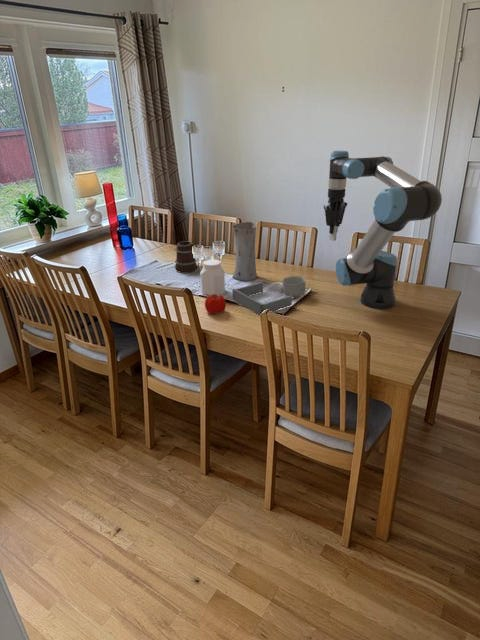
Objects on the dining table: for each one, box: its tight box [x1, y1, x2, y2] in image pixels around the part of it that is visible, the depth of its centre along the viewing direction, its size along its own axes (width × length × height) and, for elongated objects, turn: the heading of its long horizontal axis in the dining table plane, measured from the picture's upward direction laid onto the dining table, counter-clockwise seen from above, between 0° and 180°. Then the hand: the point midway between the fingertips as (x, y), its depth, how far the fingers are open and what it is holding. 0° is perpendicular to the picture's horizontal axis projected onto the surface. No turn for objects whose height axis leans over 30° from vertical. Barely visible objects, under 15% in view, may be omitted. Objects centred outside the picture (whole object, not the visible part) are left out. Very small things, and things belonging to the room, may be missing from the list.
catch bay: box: [231, 281, 293, 316], centre depth 200 cm, size 22×17×5 cm
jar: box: [199, 259, 226, 296], centre depth 211 cm, size 12×10×15 cm
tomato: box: [204, 294, 227, 315], centre depth 192 cm, size 9×9×8 cm
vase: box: [232, 221, 258, 282], centre depth 225 cm, size 13×14×28 cm
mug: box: [174, 240, 198, 273], centre depth 243 cm, size 16×12×15 cm
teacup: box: [281, 274, 306, 299], centre depth 208 cm, size 14×11×8 cm
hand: (332, 240), depth 205 cm, fingers closed
